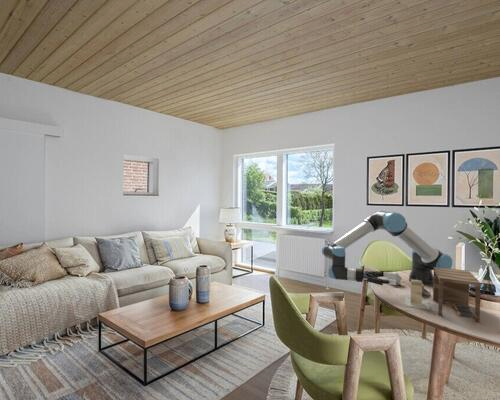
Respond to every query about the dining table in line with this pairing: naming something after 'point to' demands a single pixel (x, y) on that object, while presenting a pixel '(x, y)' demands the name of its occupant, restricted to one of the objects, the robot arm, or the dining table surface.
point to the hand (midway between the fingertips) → (396, 279)
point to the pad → (424, 305)
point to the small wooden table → (456, 290)
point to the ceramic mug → (423, 290)
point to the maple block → (416, 292)
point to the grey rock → (398, 278)
